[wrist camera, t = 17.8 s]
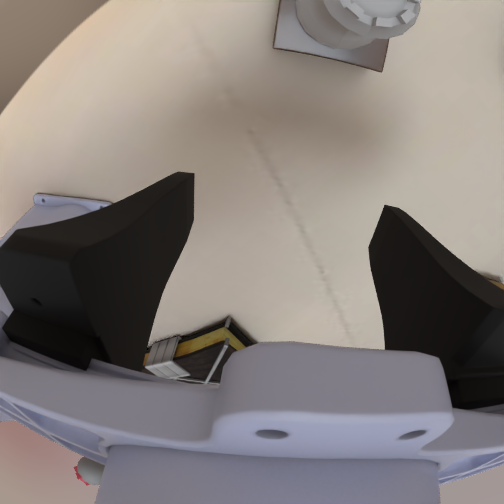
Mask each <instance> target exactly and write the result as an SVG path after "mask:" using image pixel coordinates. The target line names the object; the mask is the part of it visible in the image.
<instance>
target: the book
mask: <svg viewBox="0 0 504 504" xmlns="http://www.w3.org/2000/svg"><path fill="white" fill-rule="evenodd" d="M230 320H231V318H228V317H227V319H226V322H225V323H223V324H221V325H218V326H216V327H213V328H211V329H208V330H206V331H203V332H200V333H198V334H195V335H193V336H190V337H187V338H184V339H182V338H181V337H179V336H177V337H174V338H170V339H167V340H164V341H161V342H157V343H154V344H153V345H152V348H151V349H149V350H146V354H145V358H144V363H143V368H142V373H146V374H150V375H154V376H158V377H162V378H167V379H171V380H176V381H180V382H185V383H190V384H219V385H220V381H221V376H222V371H223V366H224V365H225V363H226V362H227V361H228V359H229V358H230V356H231V355H232V353H234V352H236V351H238V350H241V349H244V348H246V347H249V346H252V345H253V344H252V343H251V342H250V341H249V340H248V339H247V338H246V337H245V336H244V335H243V334H242V333H241V332H240V331H239V330H238V329H237V328H236V327H235V326H234V325H233V324H232V323H231V322H230Z"/></svg>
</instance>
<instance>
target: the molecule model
mask: <svg viewBox="0 0 504 504" xmlns="http://www.w3.org/2000/svg"><path fill="white" fill-rule="evenodd" d="M104 468H105V465H104V464H101V463H99V462H96V461H94V460H91V459H89V458H87V457H85V456H84V457H82V458H81V459H80V461H79V462H78V465H77V466H76V467H74V469H75V471H76V475H77V478H78V479H80V480H81V481H83V482H84V483H85V484H86V485H89V484H92V485H100V482H101V478H102V475H103V471H104Z"/></svg>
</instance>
